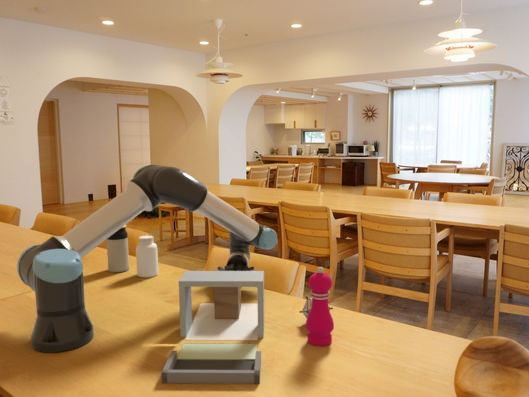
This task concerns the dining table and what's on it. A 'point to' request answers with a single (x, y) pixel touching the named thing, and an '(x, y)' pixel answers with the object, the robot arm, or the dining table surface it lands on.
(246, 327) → the tunnel
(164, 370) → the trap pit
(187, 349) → the pad
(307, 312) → the game die
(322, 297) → the pepper mill
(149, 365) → the dining table surface
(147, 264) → the pill bottle
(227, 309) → the walnut block
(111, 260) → the travel mug
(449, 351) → the dining table surface
